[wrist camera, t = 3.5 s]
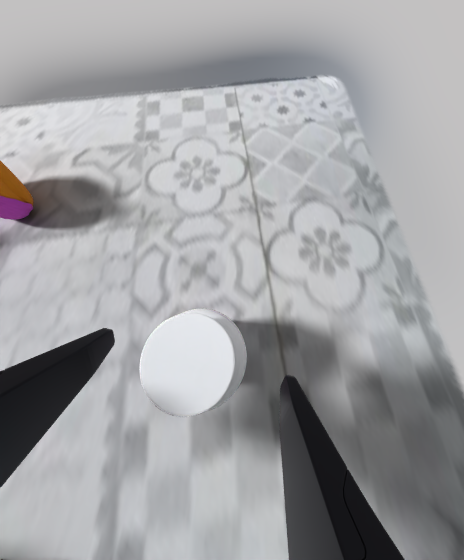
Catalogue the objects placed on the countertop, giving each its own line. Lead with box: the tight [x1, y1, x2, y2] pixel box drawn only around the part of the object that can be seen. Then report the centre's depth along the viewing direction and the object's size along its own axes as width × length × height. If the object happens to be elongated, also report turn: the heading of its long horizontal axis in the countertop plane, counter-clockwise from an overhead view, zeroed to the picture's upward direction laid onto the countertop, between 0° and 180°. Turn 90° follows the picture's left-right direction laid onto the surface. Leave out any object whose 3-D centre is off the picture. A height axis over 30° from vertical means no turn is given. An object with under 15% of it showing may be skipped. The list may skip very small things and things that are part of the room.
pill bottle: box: [140, 308, 247, 417], centre depth 12 cm, size 5×5×10 cm
